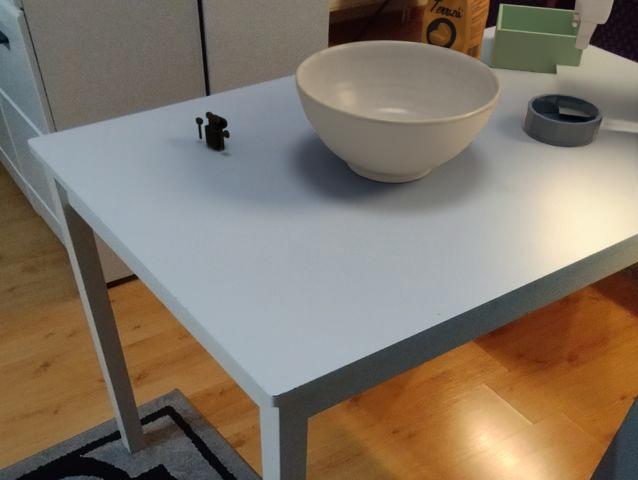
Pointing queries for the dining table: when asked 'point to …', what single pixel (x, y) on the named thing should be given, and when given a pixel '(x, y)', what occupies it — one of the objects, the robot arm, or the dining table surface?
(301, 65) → the decorative bowl
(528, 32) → the tub
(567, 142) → the blue-grey round shallow container
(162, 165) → the dining table surface
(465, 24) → the coffee package
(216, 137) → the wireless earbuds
